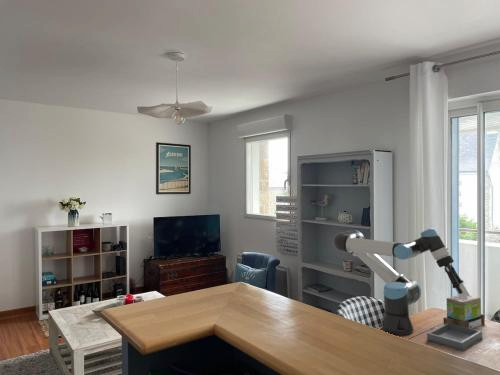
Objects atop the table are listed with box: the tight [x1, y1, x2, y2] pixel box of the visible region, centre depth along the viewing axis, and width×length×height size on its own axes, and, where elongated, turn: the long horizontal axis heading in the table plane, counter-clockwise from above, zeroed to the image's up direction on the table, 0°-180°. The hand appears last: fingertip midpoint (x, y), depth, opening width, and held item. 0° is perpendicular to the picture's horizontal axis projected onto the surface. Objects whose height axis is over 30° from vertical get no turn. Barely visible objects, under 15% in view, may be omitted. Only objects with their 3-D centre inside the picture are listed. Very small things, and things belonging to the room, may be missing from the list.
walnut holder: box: [442, 313, 486, 328], centre depth 197 cm, size 12×19×5 cm, turn 127°
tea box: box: [446, 294, 482, 329], centre depth 197 cm, size 15×10×15 cm
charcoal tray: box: [426, 323, 483, 352], centre depth 179 cm, size 16×21×4 cm
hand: (466, 298), depth 183 cm, fingers open, 13 cm apart
